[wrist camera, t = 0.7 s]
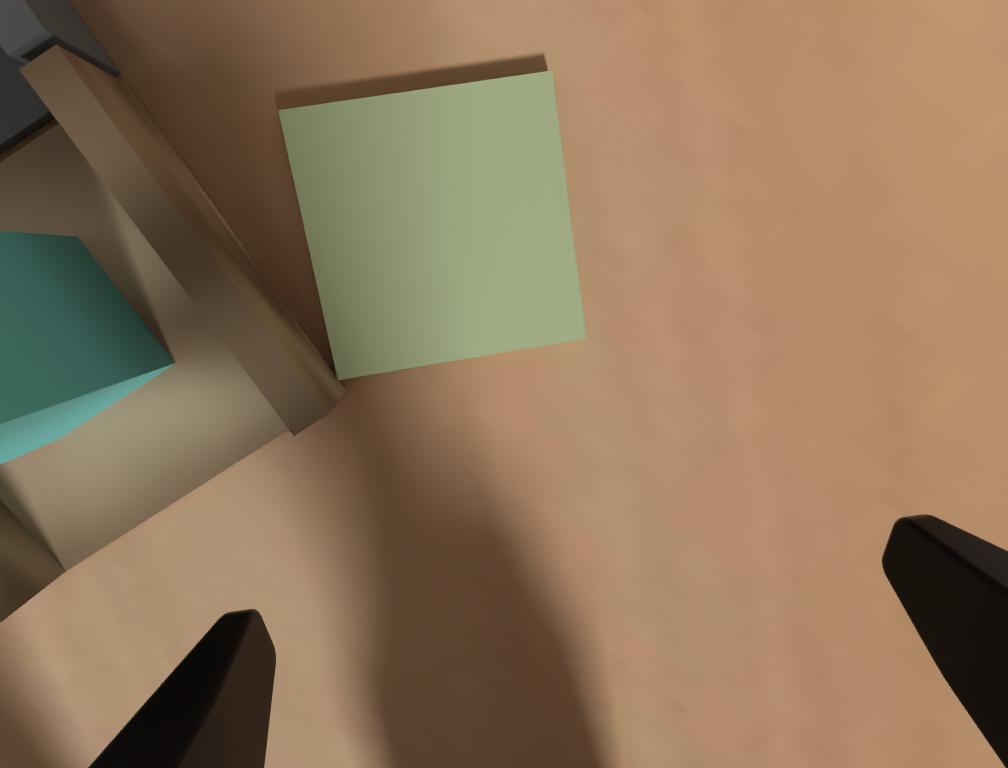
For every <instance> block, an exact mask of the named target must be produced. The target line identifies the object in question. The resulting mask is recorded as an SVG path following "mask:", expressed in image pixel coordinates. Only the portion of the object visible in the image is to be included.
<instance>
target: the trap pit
mask: <svg viewBox="0 0 1008 768" xmlns="http://www.w3.org/2000/svg"><path fill="white" fill-rule="evenodd" d="M55 45H58V46H60V47H62V48H64V49H65V50H67V51H69V52H71V53H72V54H74V55H76V56H78V57H80V58H81V59H83V60H85V61H87V62H89V63H90V64H92V65H94V66H96V67H98V68H99V69H101V70H103V71H105V72H107V73H108V74H110V75H112V76H114V77H115V76H116V75H118V74H119V73H120V72H119V70H118V69H117V68H116V66H115V65H114V63H113V62H112V61H111V59H110V58H109V56H108V55H107V54H106V52H105V51H104V49H103V48H102V47H101V45H100V44H99V42H98V41H97V40H96V38H95V37H94V35H93V34H92V33H91V31H90V30H89V28H88V27H87V26H86V24H85V23H84V21H83V20H82V19H81V17H80V16H79V14H78V13H77V11H76V10H75V9H74V7H73V6H72V4H71V3H70V2H69V0H0V153H2V152H3V151H5V150H6V149H8V148H9V147H11V146H12V145H14V144H15V143H17V142H18V141H20V140H21V139H23V138H24V137H26V136H27V135H28V134H30V133H31V132H33V131H34V130H36V129H37V128H39V127H40V126H42V125H43V124H45V123H46V122H48V121H49V120H51V119H52V118H54V116H53V114H52V113H51V112H50V110H49V109H48V108H47V106H46V105H45V104H44V102H43V101H42V100H41V98H40V97H39V96H38V94H37V93H36V92H35V90H34V89H33V88H32V86H31V85H30V84H29V82H28V81H27V80H26V78H25V77H24V76H23V74H22V73H21V72H20V70H19V69H21V68H22V67H24V66H25V65H26V64H28V63H29V62H31V61H32V60H34V59H35V58H37V57H38V56H40V55H41V54H43V53H44V52H46V51H47V50H49V49H50V48H52V47H53V46H55Z"/></svg>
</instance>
